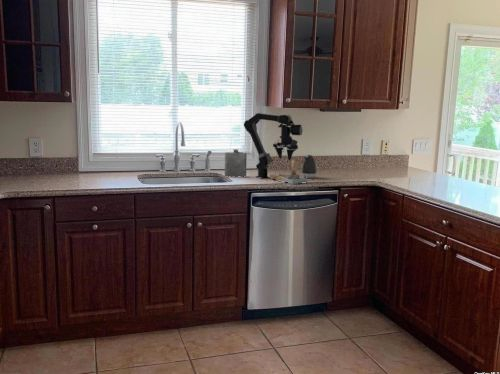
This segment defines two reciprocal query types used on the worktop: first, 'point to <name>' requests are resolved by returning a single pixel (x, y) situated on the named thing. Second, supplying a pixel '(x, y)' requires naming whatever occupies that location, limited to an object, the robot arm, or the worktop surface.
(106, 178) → the worktop surface
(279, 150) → the robot arm
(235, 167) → the flask
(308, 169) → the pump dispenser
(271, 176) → the slot board
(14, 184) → the worktop surface
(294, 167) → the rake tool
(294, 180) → the tray
